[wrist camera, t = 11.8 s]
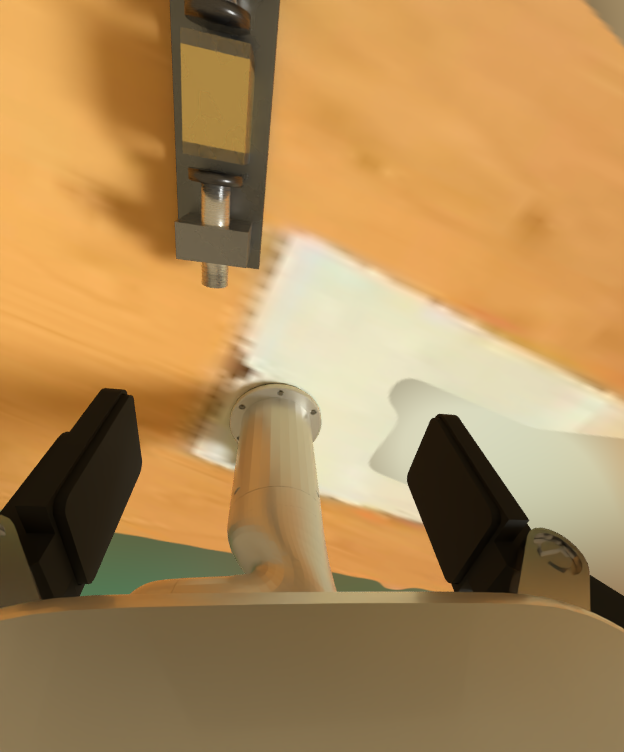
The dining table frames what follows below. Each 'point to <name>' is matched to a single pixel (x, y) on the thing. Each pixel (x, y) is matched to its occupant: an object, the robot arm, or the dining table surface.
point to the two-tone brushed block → (216, 96)
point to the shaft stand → (218, 178)
